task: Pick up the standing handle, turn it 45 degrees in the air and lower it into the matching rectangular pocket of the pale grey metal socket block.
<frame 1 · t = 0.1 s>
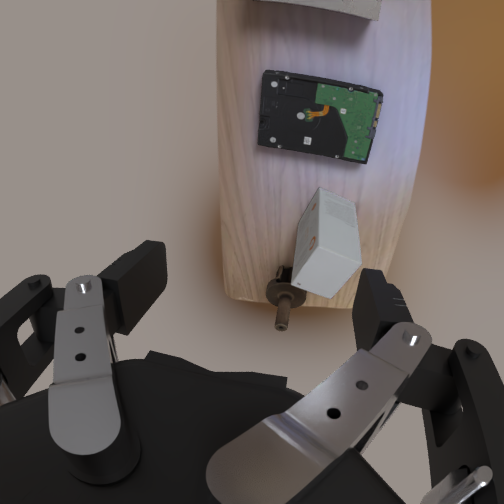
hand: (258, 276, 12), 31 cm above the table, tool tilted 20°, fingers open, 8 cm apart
disk drive: (318, 112, 37), on the table
small box: (326, 212, 48), on the table
industrial component: (289, 271, 58), on the table
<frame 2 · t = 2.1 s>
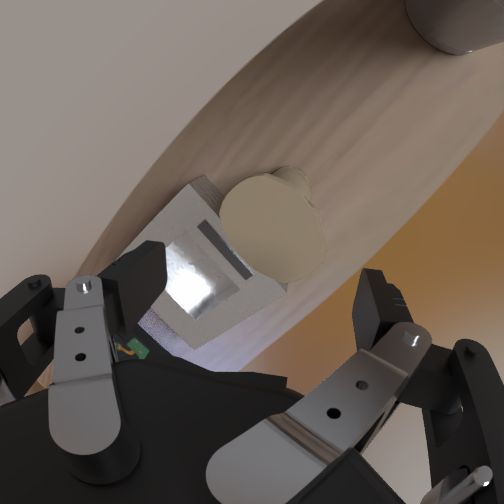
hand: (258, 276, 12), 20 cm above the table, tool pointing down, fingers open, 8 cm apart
disk drive: (132, 342, 45), on the table
handle: (291, 181, 31), on the table
socket block: (203, 260, 36), on the table
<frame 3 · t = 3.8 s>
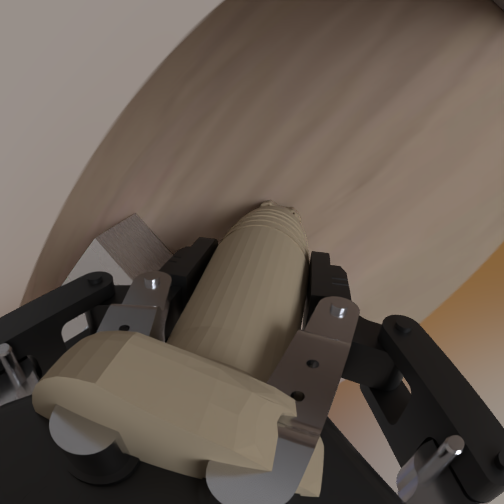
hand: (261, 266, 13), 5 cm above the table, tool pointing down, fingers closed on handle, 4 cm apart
handle: (276, 225, 18), on the table, touching gripper
socket block: (149, 334, 23), on the table
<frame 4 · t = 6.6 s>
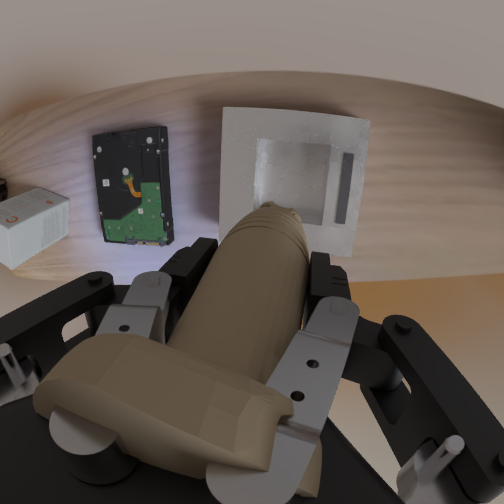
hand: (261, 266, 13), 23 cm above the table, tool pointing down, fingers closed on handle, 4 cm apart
disk drive: (138, 184, 38), on the table
small box: (53, 210, 42), on the table
handle: (276, 225, 18), point 17 cm above the table, touching gripper
industrial component: (4, 188, 43), on the table
socket block: (293, 175, 33), on the table
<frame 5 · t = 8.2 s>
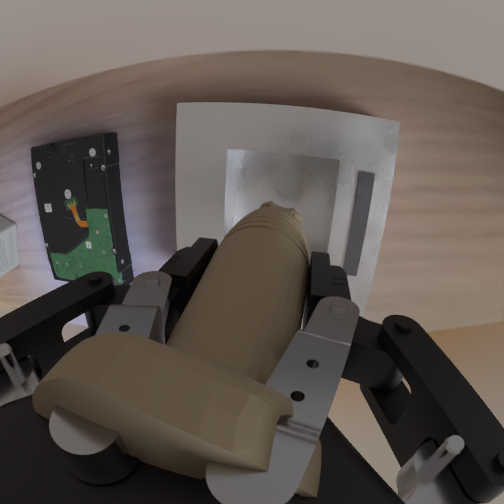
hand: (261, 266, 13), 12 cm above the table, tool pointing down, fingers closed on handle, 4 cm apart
disk drive: (88, 208, 28), on the table
small box: (3, 235, 32), on the table
handle: (276, 225, 18), point 7 cm above the table, touching gripper
socket block: (283, 199, 24), on the table
when the fingers open (7 cm above the table, at t = 9.5 s): handle stays where it is, resting on socket block.
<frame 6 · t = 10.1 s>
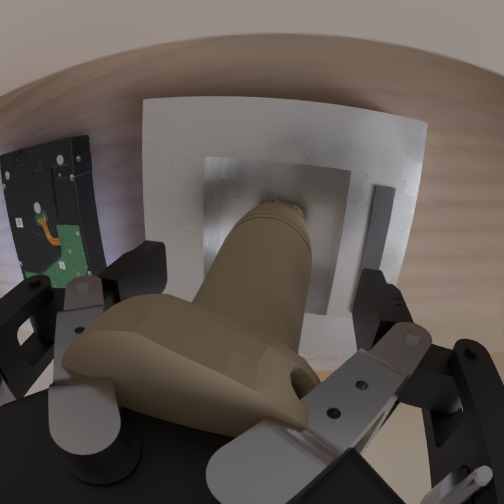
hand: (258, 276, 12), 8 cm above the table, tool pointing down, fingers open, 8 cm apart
disk drive: (62, 222, 24), on the table
handle: (279, 220, 19), point 1 cm above the table, touching socket block
socket block: (278, 215, 20), on the table
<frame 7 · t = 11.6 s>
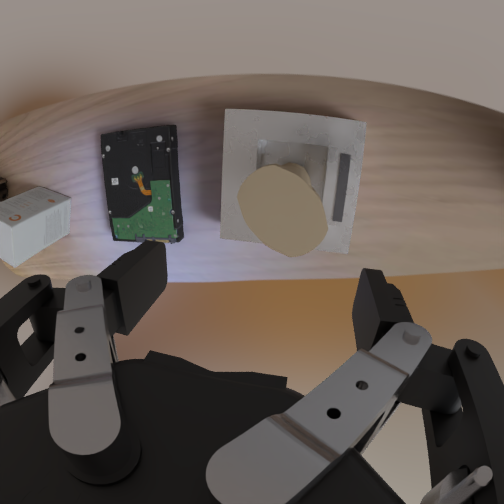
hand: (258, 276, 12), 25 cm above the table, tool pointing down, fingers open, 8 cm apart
disk drive: (147, 183, 39), on the table
small box: (54, 209, 43), on the table
handle: (292, 176, 34), point 1 cm above the table, touching socket block
industrial component: (5, 187, 43), on the table
socket block: (292, 174, 35), on the table
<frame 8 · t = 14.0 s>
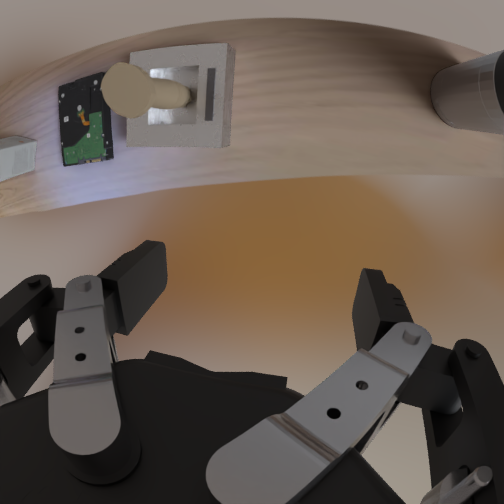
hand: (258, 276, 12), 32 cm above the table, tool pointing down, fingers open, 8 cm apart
disk drive: (90, 120, 44), on the table
small box: (25, 152, 48), on the table
handle: (183, 96, 39), point 1 cm above the table, touching socket block
socket block: (185, 97, 40), on the table
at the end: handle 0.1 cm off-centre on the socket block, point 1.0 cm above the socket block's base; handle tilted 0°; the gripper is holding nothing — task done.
